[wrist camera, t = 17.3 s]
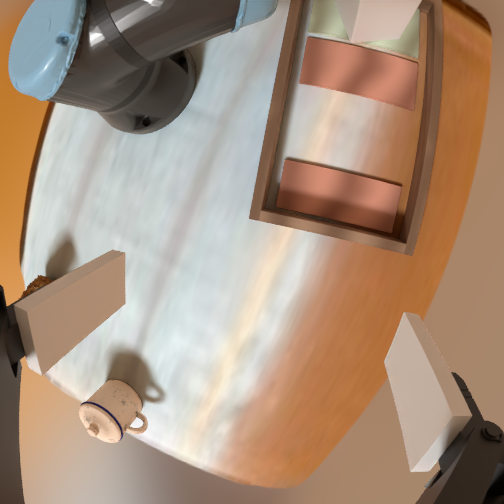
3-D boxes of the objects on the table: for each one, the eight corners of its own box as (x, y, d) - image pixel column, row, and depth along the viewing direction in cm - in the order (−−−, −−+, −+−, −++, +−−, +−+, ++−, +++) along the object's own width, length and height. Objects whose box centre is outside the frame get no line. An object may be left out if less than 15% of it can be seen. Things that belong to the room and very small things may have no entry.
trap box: (254, 215, 40) (248, 218, 37) (299, -22, 32) (298, -35, 28) (404, 250, 38) (412, 256, 34) (434, 10, 29) (441, -1, 26)
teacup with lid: (105, 404, 54) (74, 437, 43) (102, 370, 52) (66, 403, 40) (157, 427, 52) (131, 466, 41) (158, 394, 50) (127, 435, 39)
